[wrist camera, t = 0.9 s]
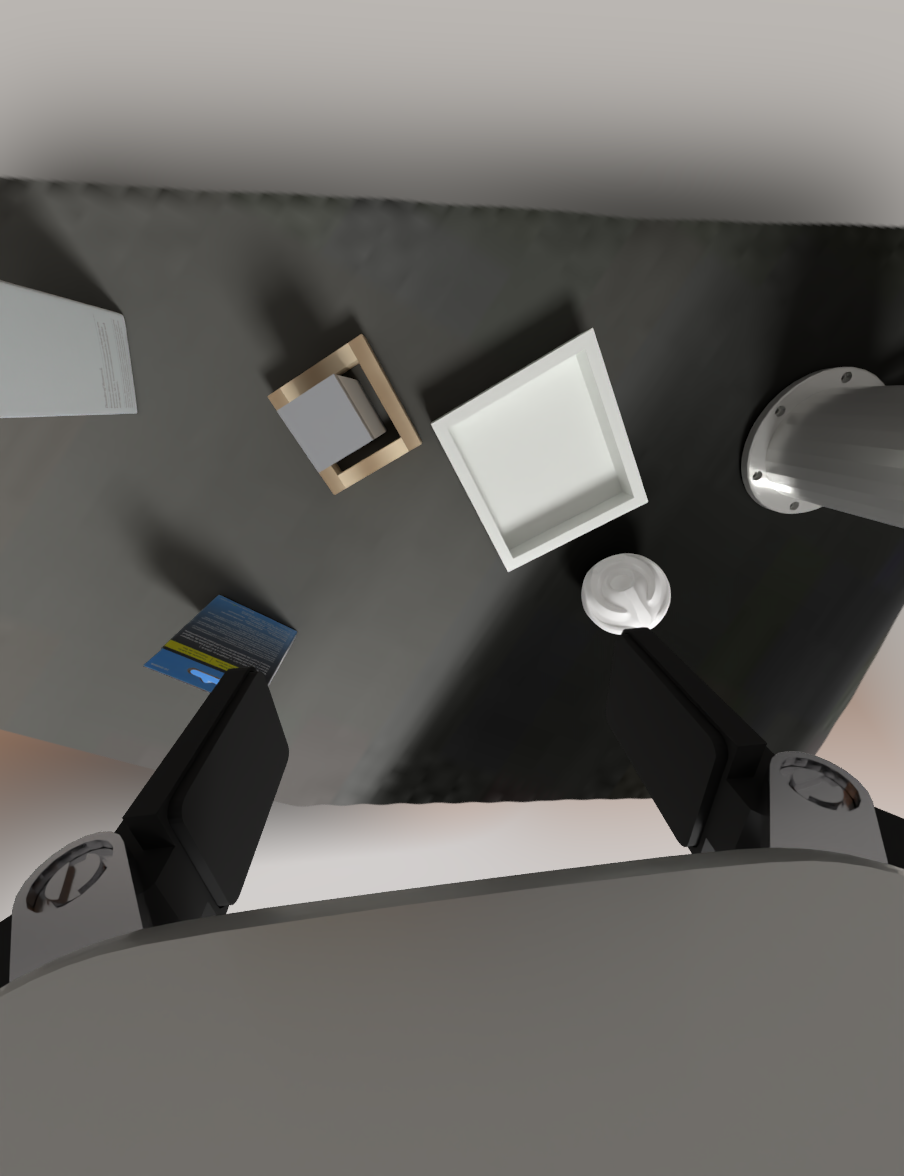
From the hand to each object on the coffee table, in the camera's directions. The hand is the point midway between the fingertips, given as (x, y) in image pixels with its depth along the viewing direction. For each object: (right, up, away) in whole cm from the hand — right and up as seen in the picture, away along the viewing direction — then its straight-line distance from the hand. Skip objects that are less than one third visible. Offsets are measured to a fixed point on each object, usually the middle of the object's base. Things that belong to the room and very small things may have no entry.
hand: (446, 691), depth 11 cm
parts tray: (+8, +15, +26) cm, 31 cm away
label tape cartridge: (-21, -1, +32) cm, 39 cm away
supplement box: (-29, +21, +21) cm, 42 cm away
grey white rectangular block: (-9, +17, +24) cm, 31 cm away
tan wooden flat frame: (-9, +17, +24) cm, 31 cm away
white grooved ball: (+17, +4, +32) cm, 36 cm away
